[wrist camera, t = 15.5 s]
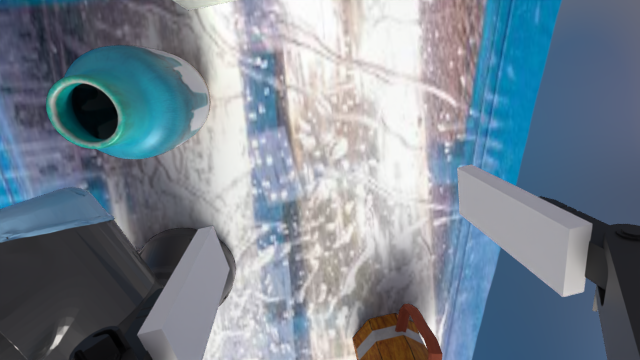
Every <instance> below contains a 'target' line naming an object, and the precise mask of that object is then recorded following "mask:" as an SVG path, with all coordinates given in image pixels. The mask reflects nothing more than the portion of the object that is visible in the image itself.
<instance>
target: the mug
mask: <svg viewBox="0 0 640 360" xmlns="http://www.w3.org/2000/svg"><path fill="white" fill-rule="evenodd" d="M410 316H411V318H412V320H413V322H412V321H410V320H409V317H410ZM418 331H419V332H420V334H421V335H422V337H423V338H424V340H425V343H426V346H427V348H426V346H425V345H424V343H423V341H422V339H421V337H420V335H419V332H418ZM353 343H354V348H355V353H356V357H357V360H442V352H441V349H440V346H439V343H438V341H437V339H436V337H435V336H434V334H433V333H432V331H431V330H430V328H429V327H428V325H427V323H426V322H425V320H424V318H423V316H422V315H421V313H420V312H419V310H418V308H416V307H415V306H413V305H411V304H404V305H403V306H402V307H401V308H400V310H399V314H396V313H393V314H389V315H385V316H380V317H376V318H372V319H368V320H367V321H366V323H365V324H364V325H363V326H362V327H361V329H360V330H359V331H358V332H357V333H356V334H355V336H354V337H353ZM427 349H428V350H427Z"/></svg>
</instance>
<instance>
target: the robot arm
mask: <svg viewBox="0 0 640 360" xmlns="http://www.w3.org/2000/svg"><path fill="white" fill-rule="evenodd" d="M457 169H458V189H459V210H460V214H461V215H462V216H463V217H464V218H466V219H467V220H468V221H469V222H471V223H472V224H473V225H474V226H476V227H477V228H478V229H479V230H481V231H482V232H483V233H484V234H485V235H487V236H488V237H489V238H490V239H492V240H493V241H494V242H495V243H497V244H498V245H499V246H500V247H502V248H503V249H504V250H505V251H507V252H508V253H509V254H510V255H511V256H513V257H514V258H515V259H516V260H518V261H519V262H520V263H522V264H523V265H524V266H525V267H526V268H528V269H529V270H530V271H531V272H533V273H534V274H535V275H536V276H537V277H539V278H540V279H541V280H543V281H544V282H545V283H546V284H547V285H549V286H550V287H551V288H552V289H554V290H555V291H556V292H557V293H559V294H560V295H561V296H562V297H565V296H569V295H573V294H577V293H581V292H584V285H585V278H588V279H589V280H591V281H592V282H594V283H595V284H596V290H595V298H594V304H593V311H597V310H598V312H599V317H600V322H601V327H602V333H603V338H604V344H605V349H606V354H607V359H608V360H640V226H637V225H630V224H614V225H608V224H606V223H604V222H601V221H599V220H597V219H595V218H593V217H591V216H588V215H586V214H584V213H582V212H580V211H577V210H576V209H574V208H571V207H567V205H565V204H563V203H561V202H558V201H556V200H553V199H549V198H545V197H541V196H540V197H537V196H535V195H533V194H530V193H529V192H526V191H524V190H522V189H520V188H518V187H516V186H514V185H512V184H510V183H508V182H506V181H504V180H502V179H500V178H498V177H496V176H494V175H492V174H490V173H488V172H486V171H484V170H481V169H479V168H477V167H475V166H473V165H468V166H463V167H459V168H457ZM114 219H115V218H114V217H113V216H112V215H109V214H108V213H107V212H106V211H105V209H104V208H103V207H102V206H101V205H100V204H99V203H98V201H97V200H96V199H95V198H94V197H93V195H92V194H90V193H89V192H88V191H86V190H84V189H81V188H75V187H68V188H63V189H59V190H56V191H53V192H50V193H47V194H44V195H41V196H38V197H35V198H32V199H29V200H26V201H23V202H20V203H17V204H14V205H11V206H8V207H6V208H3V209H0V360H202V359H203V356H204V352H205V349H206V346H207V342H208V339H209V336H210V332H211V329H212V326H213V323H214V319H215V316H216V313H217V309H218V307H219V306H220V305H221V304H222V303H223V302H224V301H225V299H226V298H227V297H228V295H229V293H230V291H231V289H232V286H233V283H234V279H235V274H236V267H235V262H234V259H233V256H232V254H231V252H230V251H229V249H228V248H227V247H226V246H225V245H224V244H223V243H222V242H221V241H220V240H219V239H218V237H217V235H216V232H215V229H214V227H213V226H209V227H205V228H200V229H198V230H196V229H190V228H177V229H171V230H167V231H164V232H162V233H159V234H157V235H156V236H154V237H153V238H151V239H150V240H149V241H148V242H147V243H146V244H145V245H144V247H143V248H142V249H141V250H140V252H139V253H138V252H137V251H136V249H135V248H134V247H133V245H132V244H131V243H130V241H129V240H128V239H127V237H126V236H125V235H124V233H123V232H122V230H121V229H120V228H119V226H118V225H117V224H116V222H115V221H114Z"/></svg>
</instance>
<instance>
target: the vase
mask: <svg viewBox="0 0 640 360" xmlns="http://www.w3.org/2000/svg"><path fill="white" fill-rule="evenodd" d="M46 110H47V114H48V117H49V119H50V122H51V123H52V125H53V126H54V128H55V129H56V130H57V131H58V133H60V134H61V135H62V136H63V137H64V138H65V139H67V140H68V141H70V142H72V143H73V144H76V145H78V146H81V147H84V148H90V149H97V150H99V151H101V152H104V153H106V154H108V155H111V156H115V157H118V158H124V159H144V158H150V157H153V156H157V155H160V154H163V153H165V152H168V151H169V150H171V149H173V148H175V147H177V146H179V145H181V144H182V143H184V142H185V141H187V140H188V139H190V138H191V137H192V136H193V135H195V134H196V133H197V131H198V130H199V129H200V128H201V127H202V126H203V124H204V123H205V121H206V119H207V117H208V115H209V111H210V94H209V90H208V87H207V85H206V82H205V81H204V79H203V77H202V76H201V75H200V73H199V72H198V71H197V70H196V69H195V68H194V67H193V66H192V65H190V64H189V63H188V62H186V61H185V60H183V59H181V58H179V57H177V56H175V55H172V54H170V53H167V52H164V51H161V50H156V49H151V48H146V47H140V46H128V45H114V46H106V47H100V48H97V49H93V50H91V51H88V52H87V53H85V54H83V55H81V56H80V57H79V58H77V59H76V60H75V61H74V62H73V63H72V65H71V66H70V67H69V68H68V70H67V72H66V74H65V76H64V78H62V79H60V80H58V81H57V82H56V83H55V84H54V85H53V86H52V87H51V89H50V90H49V92H48V95H47V98H46Z"/></svg>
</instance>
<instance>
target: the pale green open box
mask: <svg viewBox="0 0 640 360" xmlns="http://www.w3.org/2000/svg"><path fill="white" fill-rule="evenodd" d="M172 1H174V2H176V3H177V4H179V5H180V6H182V7H183V8H185V9H187V10H188V11H189V10H194V9H198V8H203V7H208V6H212V5H217V4H222V3H226V2H231V1H236V0H172Z"/></svg>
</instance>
